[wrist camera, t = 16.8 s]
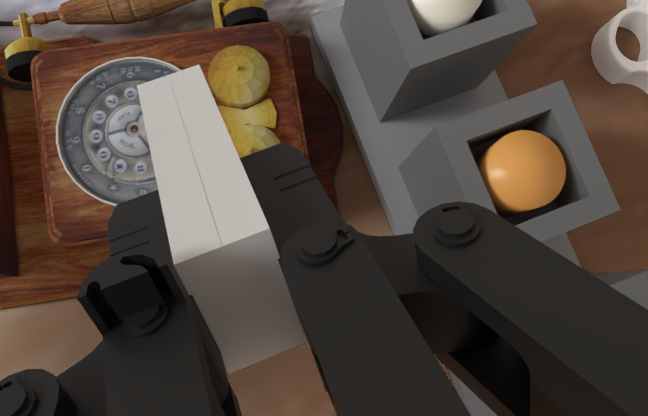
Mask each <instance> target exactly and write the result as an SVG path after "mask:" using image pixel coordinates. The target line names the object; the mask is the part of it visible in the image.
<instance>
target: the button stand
mask: <svg viewBox="0 0 648 416" xmlns="http://www.w3.org/2000/svg"><path fill="white" fill-rule="evenodd" d="M536 25H537V22H536V19H535V17H534V15H533V13H532V10H531V8H530V6H529V4H528V2H527V0H482V2H481V4H480V6H479V7H478V9H477V10H476V12H475V13H474V15H473V16H472V18H471V19H470V20H469V22H468V23H467V25H465V26H462V27H459V28H456V29H453V30H450V31H448V32H445V33H442V34H439V35H436V36H433V37H430V38H428V39H425V40H423V38H422V36H421V33H420V31H419V29H418V26H417V24H416V21H415V19H414V17H413V14H412V12H411V10H410V7H409V5H408V3H407V0H345V3H344V6H341V7H338V8H335V9H332V10H329V11H326V12H323V13H320V14H317V15H314V16H311V21H310V29H311V31H312V34H313V36H314V39H315V41H316V44H317V46H318V49H319V51H320V54H321V56H322V58H323V61H324V63H325V66H326V68H327V71H328V73H329V76H330V78H331V81H332V83H333V86H334V88H335V91H336V93H337V96H338V98H339V101H340V103H341V106H342V108H343V110H344V113H345V115H346V118H347V120H348V123H349V125H350V128H351V130H352V133H353V135H354V138H355V140H356V143H357V145H358V148H359V150H360V153H361V155H362V158H363V160H364V163H365V165H366V167H367V170H368V172H369V175H370V177H371V180H372V182H373V185H374V187H375V190H376V192H377V195H378V197H379V200H380V202H381V205H382V207H383V210H384V212H385V215H386V217H387V220H388V222H389V224H390V227H391V229H392V232H393V234H394V236H395V235H402V234H409V233H413V228H414V226H415V224H416V222H417V219H418V218H419V217H421V216H422V215H423V214H424V213H425V212H426V211H427V210H429V209H431V208H434V207H436V206H438V205H441V204H445V203H452V202H468V203H475V204H478V205H480V206H483V207H485V208H487V209H489V210H491V211H493V212H494V213H496V214H497V212H496V210H495V207H494V205H493V203H492V200H491V198H490V196H489V193H488V191H487V189H486V186H485V184H484V181H483V179H482V177H481V174H480V172H479V170H478V167H477V165H476V163H475V158H476V157H477V156H478V155H479V154H480V153H481V152H483V151H484V150H486V149H487V148H488V147H490V146H491V145H493V144H494V143H495V142H497V141H498V140H500V139H501V138H502V137H504V136H505V135H507V134H509V133H512V132H515V131H520V130H528V131H534V132H537V133H540V134H542V135H544V136H546V137H547V138H549V139H550V140H551V141H552V142H553V143H554V144H555V145H556V146H557V147H558V149H559V150H560V152H561V154H562V156H563V159H564V162H565V167H566V177H565V182H564V185H563V187H562V190H561V191H560V193H559V194H558V195H557V197H556V198H555V199H554V200H552V201H551V202H550V203H548V204H546V205H544V206H542V207H539V208H536V209H533V210H530V211H527V212H524V213H521V214H519V215H515V216H511V217H502V218H504V219H505V220H507V221H508V222H510V223H512V224H513V225H515V226H516V227H518V228H519V229H521V230H523V231H524V232H526V233H527V234H529V235H530V236H532V237H534V238H535V239H537V240H538V241H540V242H542V243H543V244H545V245H546V246H548V247H549V248H551V249H553V250H554V251H556V252H557V253H559V254H560V255H562V256H564V257H565V258H567V259H568V260H570V261H572V262H573V263H575V264H576V265H578V266H579V267H581V265H580V263H579V261H578V258H577V256H576V254H575V251H574V249H573V247H572V245H571V242H570V240H569V238H568V235H567V233H566V232H568V231H570V230H573V229H575V228H578V227H580V226H583V225H585V224H587V223H590V222H592V221H595V220H597V219H600V218H602V217H605V216H607V215H610V214H612V213H615V212H617V211H620V210H621V209H620V206H619V204H618V202H617V200H616V197H615V195H614V193H613V191H612V189H611V186H610V184H609V182H608V180H607V177H606V175H605V173H604V171H603V168H602V166H601V164H600V162H599V160H598V157H597V155H596V153H595V151H594V148H593V146H592V144H591V142H590V140H589V137H588V135H587V133H586V131H585V128H584V126H583V124H582V122H581V120H580V117H579V115H578V113H577V111H576V108H575V106H574V104H573V102H572V99H571V97H570V95H569V93H568V91H567V88H566V86H565V84H564V82H563V80H561V81H558V82H555V83H552V84H550V85H547V86H544V87H542V88H539V89H536V90H533V91H531V92H528V93H525V94H523V95H520V96H517V97H514V98H512V99H509V100H508V98H507V96H506V93H505V91H504V89H503V87H502V84H501V82H500V80H499V77H498V75H497V73H496V71H495V68H496V67H497V66H498V65H499V64H500V63H501V62H502V61H503V60H504V59H505V58H506V57H507V56H508V55H509V54H510V53H511V52H512V50H513V49H514V48H515V47H516V46H517V45H518V44H519V43H520V42H521V41H522V40H523V39H524V38H525V37H526V36H527V35H528V34H529V33H530V31H531V30H532V29H533V28H534V27H535V26H536ZM497 215H498V214H497ZM581 268H582V267H581ZM592 275H594V276H595V277H597V278H598V279H600V280H601V281H603V282H605V283H606V284H608V285H609V286H611V287H613V288H614V289H616V290H617V291H619V292H620V293H622V294H624V295H625V296H627V297H628V298H630V299H631V300H633V301H635V302H636V303H638V304H639V305H641V306H643V307H644V308H646V309H647V310H648V270H641V271H628V272H615V273H602V274H592ZM448 371H449V373H450V376H451V378H452V381H453V383H454V386H455V388H456V390H457V393H458V395H459V397H460V398H461V400H462V401H463V403H464V405H465V406H466V408H467V410H468V411H469V413H470V414H471V416H497V415H496V414H495V413H494V412H493V411H492V410H491V409H490V408H489V407H488V406H487V405H486V404H485V403H484V402H482V401H481V400H480V399H479V398H478V397H477V396H476V395H475V394H474V393H473V392H472V391H471V390H470V389H469V388H468V387H467V386H466V385H465V384H464V383H463V382H462V381H461V380H460V379H458V378H457V377H456V376H455V375H454V374H453V373H452V372H451V371H450V370H449V369H448Z"/></svg>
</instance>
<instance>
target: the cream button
mask: <svg viewBox="0 0 648 416" xmlns="http://www.w3.org/2000/svg"><path fill="white" fill-rule="evenodd" d="M481 2H482V0H407V3H408V5H409V7H410V10H411V12H412V14H413V17H414V19H415V21H416V24H417V26H418V29H419V31H420V33H421V36H422V38H423V40H425V39H428V38H430V37H433V36H436V35H439V34H442V33H445V32H448V31H450V30H453V29H456V28H459V27H462V26H465V25H467V23H468V22H469V20H470V19H471V18H472V16H473V15H474V13H475V12H476V10H477V9H478V7H479V6H480V4H481Z"/></svg>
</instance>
